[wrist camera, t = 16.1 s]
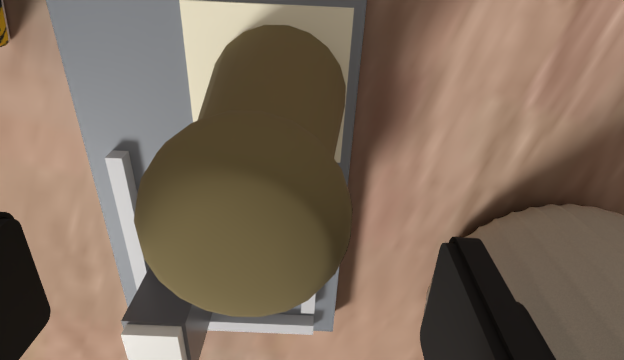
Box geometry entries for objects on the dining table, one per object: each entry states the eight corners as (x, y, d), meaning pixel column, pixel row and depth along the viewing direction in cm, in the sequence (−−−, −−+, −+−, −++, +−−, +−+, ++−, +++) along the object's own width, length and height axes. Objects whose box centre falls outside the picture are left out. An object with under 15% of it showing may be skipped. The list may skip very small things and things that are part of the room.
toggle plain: (207, 259, 23) (181, 334, 18) (213, 308, 25) (190, 386, 20) (154, 256, 23) (115, 331, 18) (164, 306, 25) (131, 384, 20)
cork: (372, 67, 17) (437, 215, 8) (307, 175, 20) (298, 382, 11) (242, -5, 16) (131, 71, 6) (191, 122, 19) (62, 304, 9)
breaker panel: (363, -9, 17) (369, -3, 15) (331, 313, 28) (332, 341, 26) (61, -25, 17) (27, -20, 15) (140, 304, 27) (126, 333, 25)
